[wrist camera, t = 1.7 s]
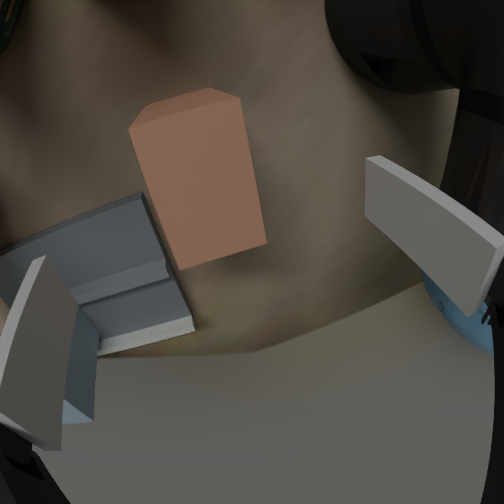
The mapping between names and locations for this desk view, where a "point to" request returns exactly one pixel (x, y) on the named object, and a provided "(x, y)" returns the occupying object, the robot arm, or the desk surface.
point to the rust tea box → (200, 174)
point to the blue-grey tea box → (81, 372)
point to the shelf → (109, 273)
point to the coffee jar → (8, 19)
